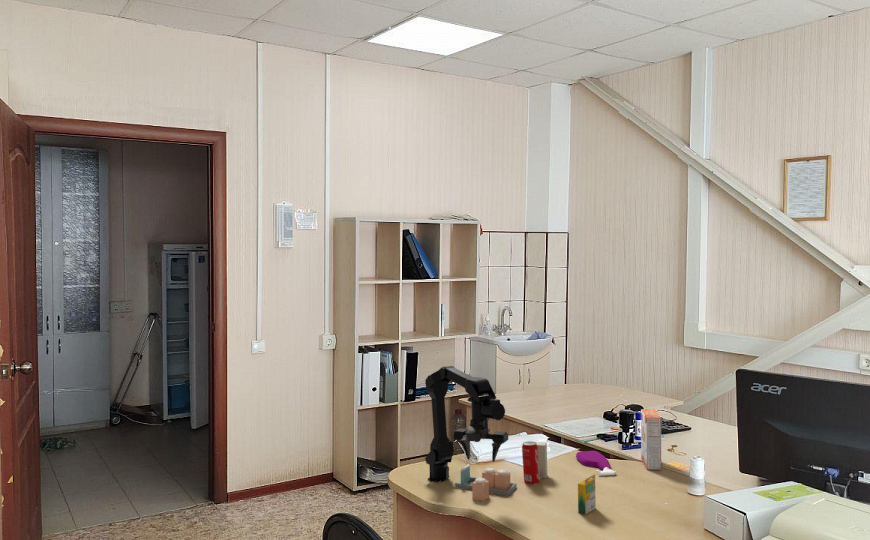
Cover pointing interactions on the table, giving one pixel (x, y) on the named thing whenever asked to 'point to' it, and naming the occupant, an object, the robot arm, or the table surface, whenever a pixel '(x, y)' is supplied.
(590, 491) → the crayon box
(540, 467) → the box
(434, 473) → the robot arm
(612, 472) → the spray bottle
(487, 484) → the loose jar
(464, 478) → the pusher plate
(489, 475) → the middle jar
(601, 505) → the table surface
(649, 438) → the cracker box
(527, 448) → the beverage can
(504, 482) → the front jar
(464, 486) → the tray
